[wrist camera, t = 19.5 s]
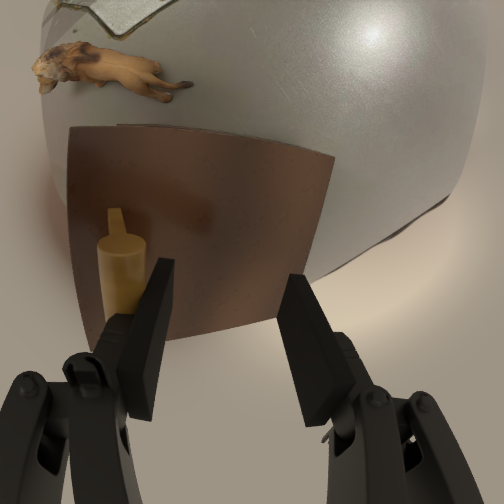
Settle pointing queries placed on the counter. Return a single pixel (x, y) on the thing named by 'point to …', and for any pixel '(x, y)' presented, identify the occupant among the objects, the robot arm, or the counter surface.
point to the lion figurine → (100, 69)
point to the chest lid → (188, 222)
